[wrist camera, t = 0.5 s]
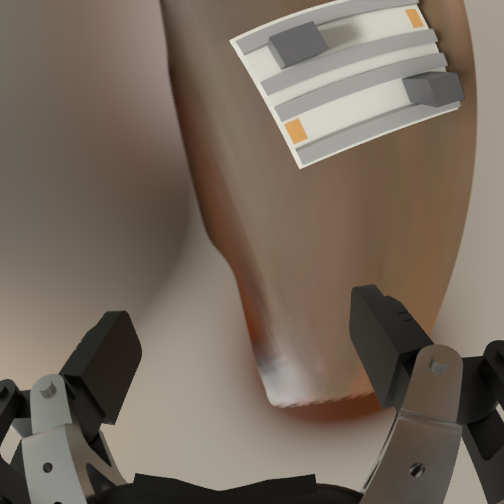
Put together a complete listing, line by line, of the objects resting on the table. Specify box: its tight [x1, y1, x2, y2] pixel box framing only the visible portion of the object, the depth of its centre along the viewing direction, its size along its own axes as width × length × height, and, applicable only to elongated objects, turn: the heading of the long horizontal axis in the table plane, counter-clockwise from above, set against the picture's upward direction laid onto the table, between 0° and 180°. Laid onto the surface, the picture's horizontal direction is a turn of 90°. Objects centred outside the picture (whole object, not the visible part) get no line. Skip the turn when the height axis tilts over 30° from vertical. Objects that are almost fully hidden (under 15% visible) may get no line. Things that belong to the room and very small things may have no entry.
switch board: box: [229, 0, 461, 169], centre depth 23 cm, size 16×22×4 cm
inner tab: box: [268, 21, 329, 70], centre depth 20 cm, size 3×4×6 cm
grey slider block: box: [402, 72, 465, 108], centre depth 20 cm, size 3×4×6 cm
